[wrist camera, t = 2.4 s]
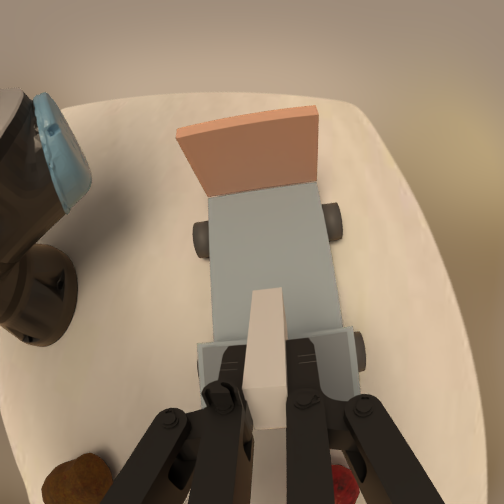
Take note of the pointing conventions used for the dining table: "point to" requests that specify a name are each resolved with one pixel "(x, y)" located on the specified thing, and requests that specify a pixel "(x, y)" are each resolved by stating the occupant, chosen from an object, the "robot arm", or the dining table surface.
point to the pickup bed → (278, 278)
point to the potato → (78, 481)
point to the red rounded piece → (344, 485)
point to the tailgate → (253, 150)
